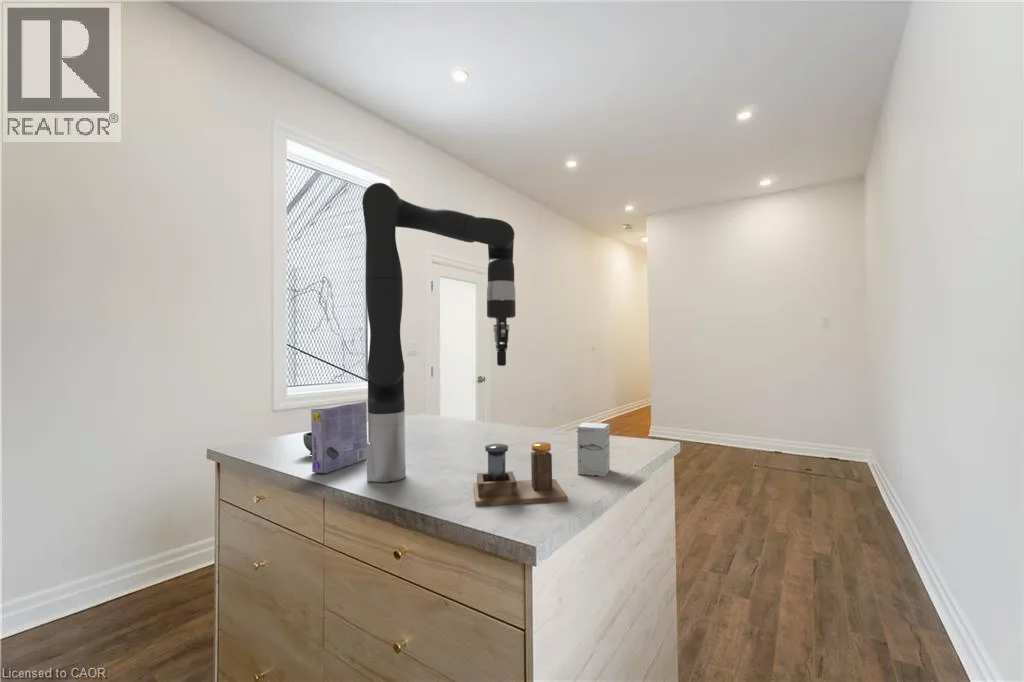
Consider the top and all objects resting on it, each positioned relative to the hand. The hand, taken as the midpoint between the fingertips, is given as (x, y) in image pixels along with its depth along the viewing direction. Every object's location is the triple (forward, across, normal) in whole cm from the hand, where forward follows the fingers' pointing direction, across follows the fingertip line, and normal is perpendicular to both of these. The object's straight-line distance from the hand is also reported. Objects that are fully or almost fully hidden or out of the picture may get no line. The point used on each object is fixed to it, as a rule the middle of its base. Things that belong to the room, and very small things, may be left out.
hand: (501, 365), depth 121 cm
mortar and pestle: (+29, -32, -55) cm, 70 cm away
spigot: (+28, +16, -2) cm, 32 cm away
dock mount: (+29, +16, +2) cm, 33 cm away
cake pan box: (+29, -17, -45) cm, 56 cm away
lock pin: (+27, +15, +8) cm, 32 cm away
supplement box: (+29, +1, +24) cm, 38 cm away
